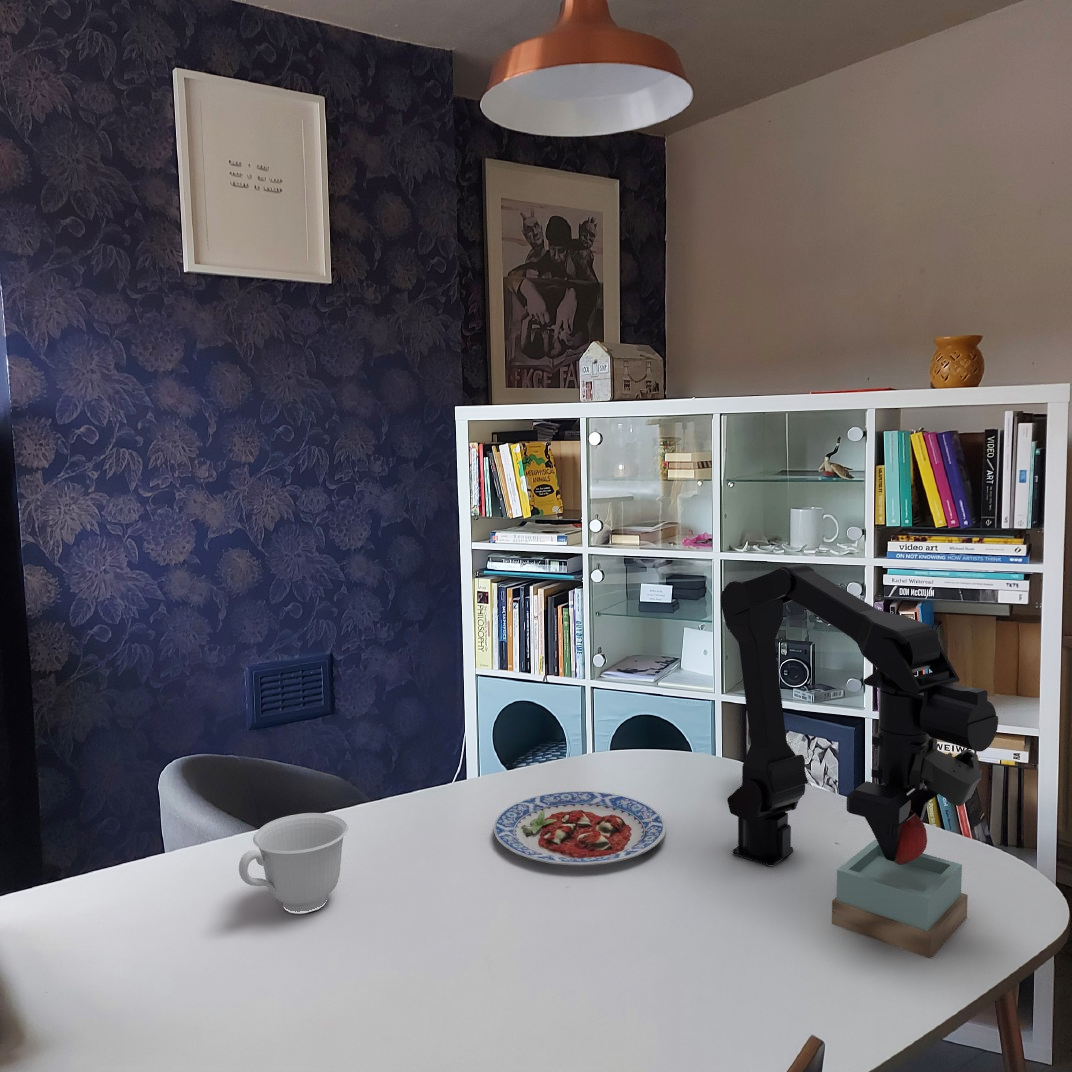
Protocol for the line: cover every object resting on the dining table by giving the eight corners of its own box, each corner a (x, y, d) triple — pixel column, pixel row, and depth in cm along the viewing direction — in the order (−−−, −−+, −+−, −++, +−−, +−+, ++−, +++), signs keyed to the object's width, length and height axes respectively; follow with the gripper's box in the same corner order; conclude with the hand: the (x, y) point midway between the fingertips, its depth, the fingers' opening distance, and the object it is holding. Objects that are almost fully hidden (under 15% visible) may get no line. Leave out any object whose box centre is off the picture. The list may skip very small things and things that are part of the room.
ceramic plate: (693, 823, 148) (693, 805, 148) (616, 895, 127) (616, 873, 126) (551, 792, 162) (550, 775, 162) (459, 852, 140) (459, 833, 140)
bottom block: (831, 927, 118) (832, 900, 117) (872, 891, 127) (872, 865, 126) (930, 963, 110) (931, 934, 109) (966, 921, 119) (967, 894, 118)
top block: (836, 900, 117) (837, 869, 117) (873, 868, 125) (874, 839, 125) (927, 931, 110) (928, 898, 110) (961, 895, 118) (962, 864, 118)
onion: (924, 856, 119) (926, 795, 118) (927, 878, 114) (929, 813, 113) (875, 851, 121) (876, 790, 120) (875, 871, 115) (877, 807, 114)
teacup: (219, 915, 124) (214, 841, 122) (317, 873, 134) (313, 805, 133) (270, 948, 115) (265, 869, 114) (370, 901, 126) (366, 828, 125)
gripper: (945, 764, 103) (940, 902, 105) (999, 721, 117) (994, 843, 119) (845, 743, 110) (843, 871, 112) (907, 704, 124) (904, 819, 126)
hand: (900, 851), depth 117 cm, fingers closed on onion, 6 cm apart
